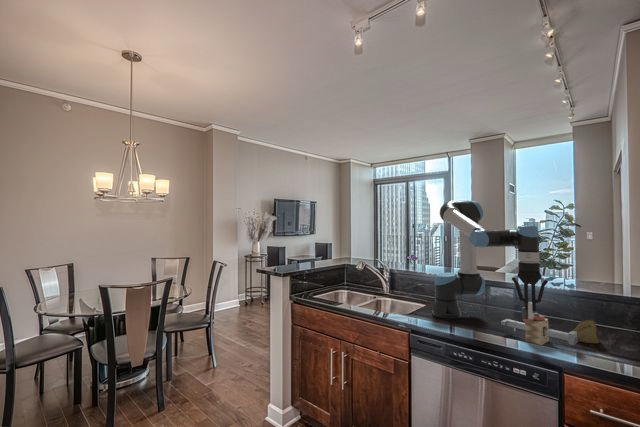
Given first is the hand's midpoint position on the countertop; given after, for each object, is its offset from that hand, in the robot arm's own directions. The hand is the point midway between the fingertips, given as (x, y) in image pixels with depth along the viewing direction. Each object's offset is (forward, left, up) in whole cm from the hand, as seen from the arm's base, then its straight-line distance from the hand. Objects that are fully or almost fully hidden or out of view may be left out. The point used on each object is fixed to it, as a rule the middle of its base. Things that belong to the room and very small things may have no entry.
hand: (530, 318), depth 131 cm
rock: (+11, +25, -12) cm, 30 cm away
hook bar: (-1, +9, -9) cm, 13 cm away
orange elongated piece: (-2, +6, -2) cm, 7 cm away
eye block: (-1, +9, -12) cm, 15 cm away
